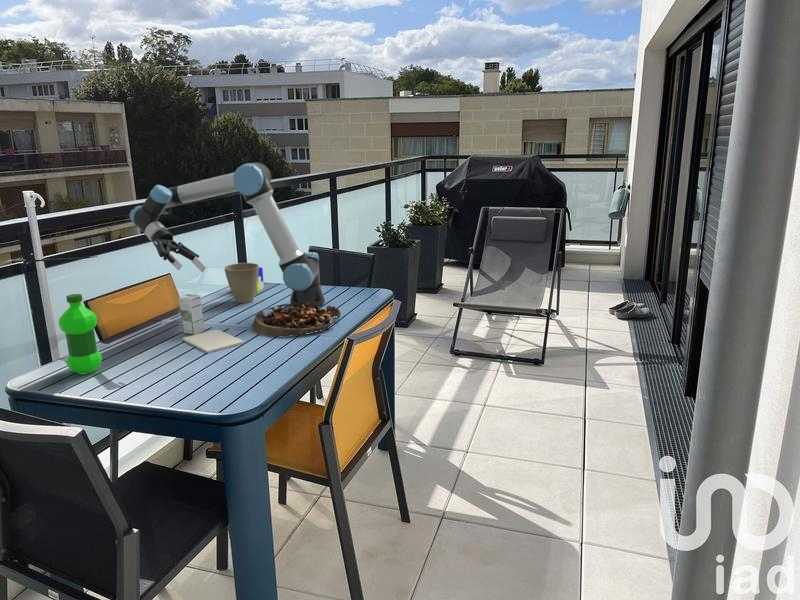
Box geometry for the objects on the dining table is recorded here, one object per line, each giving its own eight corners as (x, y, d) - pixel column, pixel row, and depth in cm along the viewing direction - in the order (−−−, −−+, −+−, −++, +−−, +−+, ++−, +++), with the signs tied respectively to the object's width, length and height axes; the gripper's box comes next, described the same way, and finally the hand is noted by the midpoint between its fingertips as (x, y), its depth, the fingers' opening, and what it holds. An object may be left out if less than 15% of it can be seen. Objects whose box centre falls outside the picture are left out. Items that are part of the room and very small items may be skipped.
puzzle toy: (263, 287, 298) (262, 267, 296) (257, 292, 289) (255, 271, 286) (244, 287, 299) (242, 267, 297) (236, 292, 290) (235, 271, 287)
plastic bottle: (94, 363, 201) (82, 289, 194) (109, 370, 194) (98, 294, 188) (62, 372, 193) (49, 296, 187) (77, 380, 187) (64, 301, 180)
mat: (182, 340, 222) (182, 337, 222) (217, 331, 232) (217, 329, 231) (207, 353, 208) (207, 351, 208) (244, 343, 217) (244, 341, 217)
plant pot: (224, 299, 277) (221, 265, 273) (257, 295, 283) (254, 261, 279) (230, 307, 264) (227, 271, 260) (264, 302, 270) (262, 267, 266)
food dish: (329, 310, 261) (328, 293, 259) (351, 334, 231) (351, 314, 229) (245, 318, 249) (244, 299, 246) (257, 344, 219) (256, 323, 217)
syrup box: (205, 331, 232) (201, 294, 228) (194, 335, 227) (189, 298, 223) (193, 329, 235) (189, 292, 231) (182, 333, 229) (178, 296, 226)
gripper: (176, 245, 254) (208, 277, 248) (130, 239, 231) (164, 274, 225) (185, 231, 253) (218, 262, 247) (140, 223, 230) (174, 258, 223)
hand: (192, 268), depth 236 cm, fingers open, 13 cm apart
